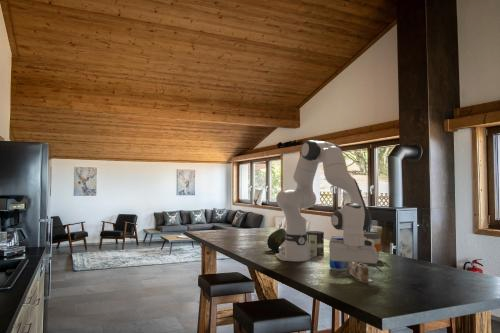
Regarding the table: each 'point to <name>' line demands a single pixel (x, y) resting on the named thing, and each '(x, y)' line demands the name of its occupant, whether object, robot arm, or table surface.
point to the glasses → (375, 266)
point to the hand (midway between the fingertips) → (353, 272)
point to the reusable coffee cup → (374, 239)
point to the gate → (358, 272)
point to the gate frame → (357, 279)
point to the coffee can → (315, 243)
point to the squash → (276, 239)
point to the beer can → (337, 264)
